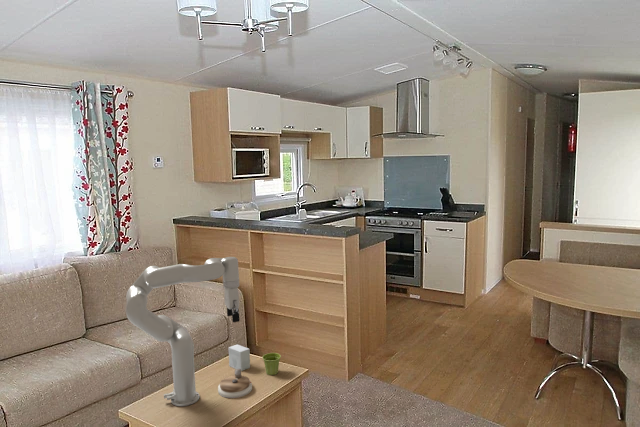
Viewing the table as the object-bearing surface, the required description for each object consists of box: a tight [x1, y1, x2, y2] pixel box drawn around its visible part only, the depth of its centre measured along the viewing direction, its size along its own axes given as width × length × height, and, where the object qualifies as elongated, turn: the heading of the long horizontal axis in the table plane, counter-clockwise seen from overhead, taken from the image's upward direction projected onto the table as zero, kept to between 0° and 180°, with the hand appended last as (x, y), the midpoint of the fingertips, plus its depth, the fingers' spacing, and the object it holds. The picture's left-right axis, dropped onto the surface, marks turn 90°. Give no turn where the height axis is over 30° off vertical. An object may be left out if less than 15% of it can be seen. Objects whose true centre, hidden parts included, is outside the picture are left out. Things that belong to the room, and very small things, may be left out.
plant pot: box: [261, 352, 282, 376], centre depth 239 cm, size 9×9×9 cm
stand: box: [217, 380, 253, 399], centre depth 223 cm, size 16×16×2 cm
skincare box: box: [228, 344, 251, 372], centre depth 247 cm, size 10×6×10 cm, turn 49°
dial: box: [219, 368, 251, 392], centre depth 222 cm, size 14×14×5 cm
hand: (233, 318), depth 221 cm, fingers open, 9 cm apart
